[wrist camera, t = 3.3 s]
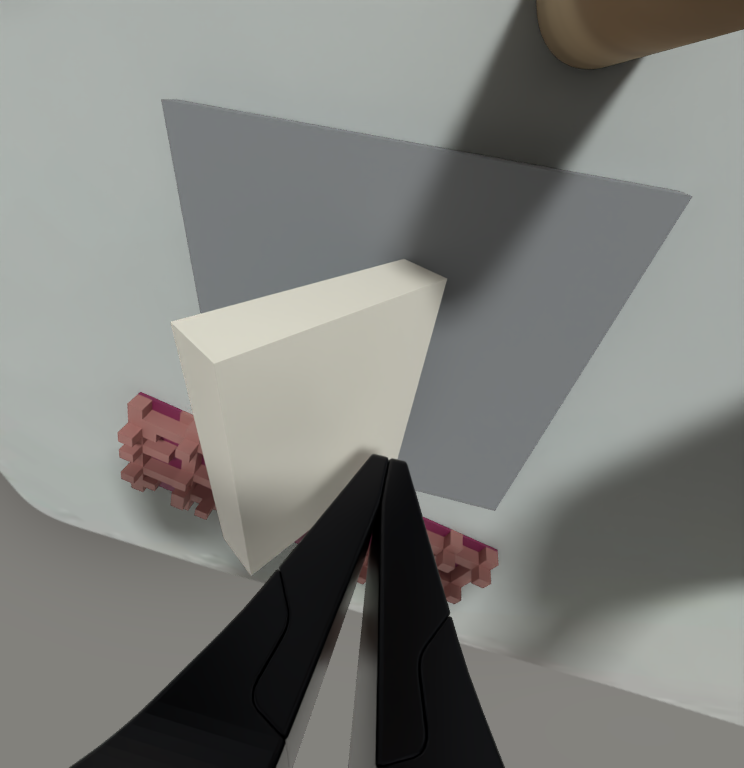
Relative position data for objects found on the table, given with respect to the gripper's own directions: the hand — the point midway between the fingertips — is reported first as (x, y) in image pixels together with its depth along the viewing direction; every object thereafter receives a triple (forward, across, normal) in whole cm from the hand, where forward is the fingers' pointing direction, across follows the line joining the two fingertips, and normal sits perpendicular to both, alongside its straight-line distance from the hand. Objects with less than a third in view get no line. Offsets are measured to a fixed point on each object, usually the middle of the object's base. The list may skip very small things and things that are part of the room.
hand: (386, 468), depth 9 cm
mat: (+5, +1, 0) cm, 5 cm away
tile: (+4, 0, 0) cm, 4 cm away
